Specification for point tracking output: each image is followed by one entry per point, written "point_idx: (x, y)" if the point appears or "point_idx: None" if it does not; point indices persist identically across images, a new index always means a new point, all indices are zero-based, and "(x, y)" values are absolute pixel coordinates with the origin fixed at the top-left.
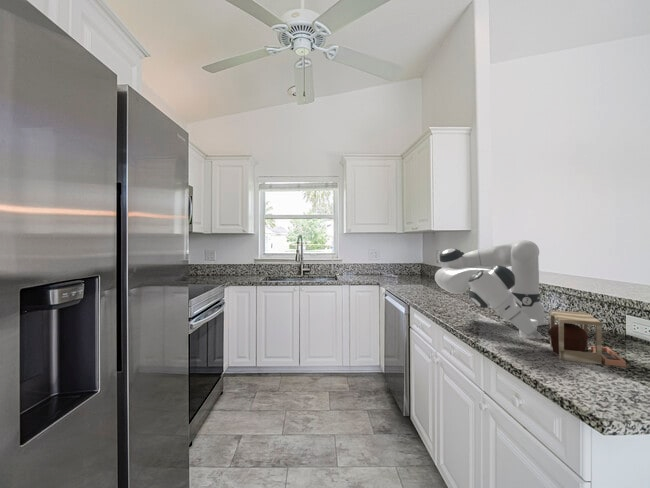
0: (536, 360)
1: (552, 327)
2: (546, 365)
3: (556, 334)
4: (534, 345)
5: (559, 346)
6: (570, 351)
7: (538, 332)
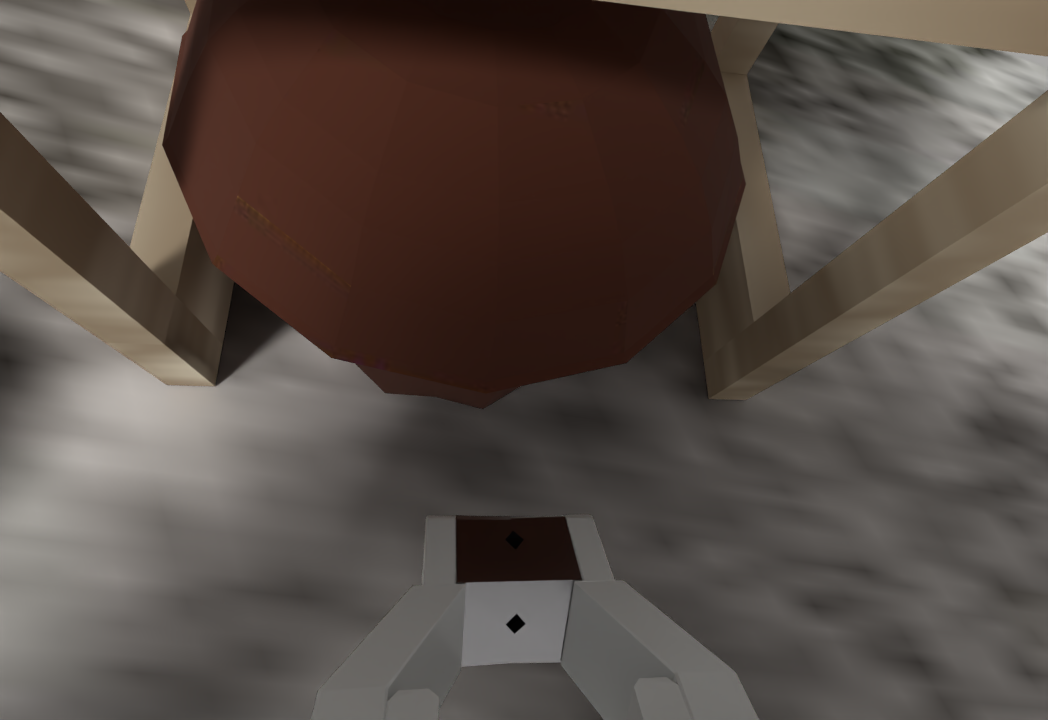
0: (919, 647)
1: (514, 259)
2: (1023, 562)
3: (688, 285)
4: (197, 595)
5: (835, 349)
6: (782, 265)
7: (620, 586)
